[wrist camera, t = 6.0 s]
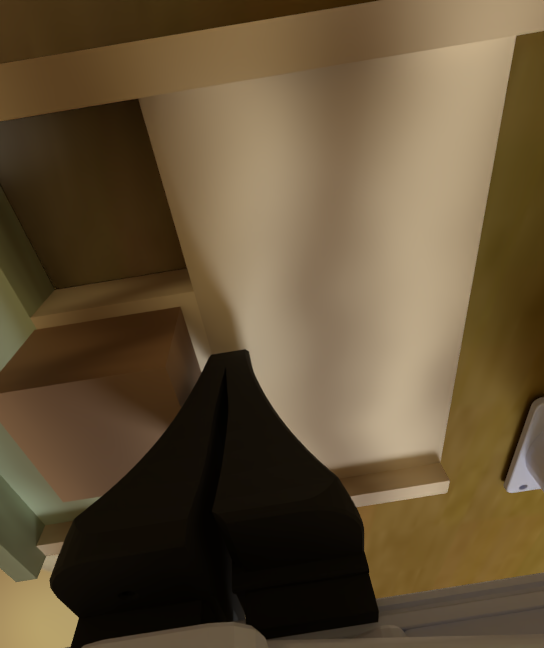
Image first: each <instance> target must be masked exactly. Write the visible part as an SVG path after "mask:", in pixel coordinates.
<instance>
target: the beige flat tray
mask: <svg viewBox="0 0 544 648" xmlns="http://www.w3.org/2000/svg"><path fill="white" fill-rule="evenodd" d="M540 31H544V0H379V1H373V2H367V3H361V4H355V5H349V6H343V7H337V8H331V9H325V10H319V11H313V12H307V13H302V14H296V15H290V16H284V17H278V18H272V19H266V20H260V21H254V22H248V23H242V24H236V25H230V26H224V27H218V28H212V29H206V30H200V31H194V32H188V33H182V34H176V35H170V36H164V37H158V38H152V39H146V40H140V41H134V42H128V43H122V44H116V45H110V46H104V47H98V48H92V49H86V50H80V51H74V52H68V53H62V54H56V55H50V56H44V57H38V58H32V59H26V60H20V61H14V62H8V63H2V64H0V122H1V121H7V120H13V119H19V118H25V117H31V116H37V115H43V114H49V113H55V112H61V111H67V110H73V109H79V108H85V107H91V106H97V105H103V104H109V103H116V102H122V101H128V100H134V99H138V100H139V103H140V107H141V110H142V114H143V117H144V121H145V124H146V128H147V131H148V134H149V138H150V141H151V145H152V148H153V152H154V155H155V159H156V162H157V166H158V169H159V173H160V176H161V180H162V183H163V186H164V190H165V193H166V197H167V200H168V204H169V207H170V211H171V214H172V218H173V221H174V225H175V228H176V231H177V235H178V238H179V242H180V245H181V249H182V252H183V256H184V259H185V263H186V266H187V269H180V270H174V271H168V272H162V273H156V274H150V275H144V276H137V277H131V278H125V279H119V280H113V281H107V282H101V283H94V284H88V285H82V286H76V287H70V288H64V289H57V290H55V289H54V288H53V286H52V284H51V282H50V280H49V278H48V276H47V274H46V272H45V270H44V268H43V266H42V265H41V263H40V261H39V259H38V257H37V255H36V253H35V251H34V249H33V247H32V245H31V243H30V242H29V240H28V238H27V236H26V234H25V232H24V230H23V228H22V226H21V224H20V222H19V220H18V219H17V217H16V215H15V213H14V211H13V209H12V207H11V205H10V203H9V201H8V199H7V197H6V196H5V194H4V192H3V190H2V188H1V186H0V372H1V370H2V369H3V368H4V367H5V365H6V364H7V363H8V362H9V361H10V359H11V358H12V357H13V356H14V354H15V353H16V352H17V351H18V350H19V348H20V347H21V346H22V345H23V343H24V342H25V341H26V340H27V339H28V337H29V336H30V335H31V334H32V332H33V331H34V330H37V329H43V328H49V327H56V326H62V325H68V324H74V323H81V322H87V321H93V320H99V319H106V318H112V317H118V316H124V315H130V314H137V313H143V312H149V311H155V310H162V309H168V308H174V307H181V310H182V313H183V316H184V319H185V322H186V325H187V329H188V332H189V335H190V338H191V341H192V344H193V348H194V351H195V354H196V357H197V360H198V363H199V366H200V370H201V373H202V371H203V369H204V367H205V365H206V362H207V360H208V358H209V357H210V355H212V354H218V353H225V352H231V351H237V350H243V349H246V350H247V351H249V354H250V359H251V363H252V368H253V371H254V374H255V376H256V378H257V380H258V382H259V384H260V386H261V388H262V390H263V392H264V393H265V395H266V397H267V399H268V400H269V402H270V403H271V405H272V407H273V408H274V410H275V411H276V412H277V414H278V415H279V417H280V418H281V419H282V421H283V422H284V423H285V424H286V426H287V427H288V428H289V429H290V431H291V432H292V433H293V434H294V435H295V436H296V437H297V439H298V440H299V441H300V442H301V443H302V444H303V445H304V446H305V447H306V448H307V449H308V450H309V451H310V452H311V453H312V454H313V455H314V456H315V457H316V458H317V459H318V460H319V461H320V462H321V463H322V464H324V465H325V466H326V467H327V468H328V469H329V470H330V471H332V472H333V473H334V474H335V475H336V476H338V478H339V479H340V481H341V482H342V484H343V486H344V487H345V489H346V490H347V492H348V494H349V495H350V497H351V499H352V500H353V502H354V504H355V506H356V507H361V506H367V505H373V504H380V503H386V502H392V501H399V500H405V499H411V498H418V497H424V496H430V495H437V494H443V493H447V492H448V487H449V482H450V480H449V478H448V476H447V475H446V473H445V471H444V469H443V467H442V465H441V463H440V461H441V455H442V449H443V444H444V438H445V432H446V427H447V421H448V416H449V410H450V404H451V399H452V393H453V388H454V382H455V376H456V371H457V365H458V359H459V354H460V348H461V343H462V337H463V331H464V326H465V320H466V315H467V309H468V303H469V298H470V292H471V287H472V281H473V275H474V270H475V264H476V258H477V253H478V247H479V242H480V236H481V230H482V225H483V219H484V214H485V208H486V202H487V197H488V191H489V185H490V180H491V174H492V169H493V163H494V157H495V152H496V146H497V141H498V135H499V129H500V124H501V118H502V112H503V107H504V101H505V96H506V90H507V84H508V79H509V73H510V68H511V62H512V56H513V51H514V45H515V40H516V36H517V35H523V34H528V33H534V32H540ZM101 497H102V496H101ZM99 498H100V497H95V498H89V499H82V500H76V501H70V502H63V501H62V500H61V499H60V498H59V496H58V495H57V494H56V493H55V491H54V490H53V489H52V487H51V486H50V485H49V484H48V482H47V481H46V480H45V479H44V477H43V476H42V475H41V474H40V472H39V471H38V470H37V468H36V467H35V466H34V465H33V463H32V462H31V461H30V460H29V458H28V457H27V456H26V455H25V453H24V452H23V451H22V449H21V448H20V447H19V446H18V444H17V443H16V442H15V441H14V439H13V438H12V437H11V436H10V434H9V433H8V432H7V430H6V429H5V428H4V427H3V425H2V424H1V423H0V568H1V569H2V570H3V571H4V572H5V573H6V574H7V575H9V576H10V577H11V578H12V579H13V580H14V581H16V582H19V581H26V580H32V579H37V577H38V575H39V573H40V570H41V568H42V565H43V563H44V560H45V558H46V556H50V555H57V554H59V553H60V550H61V548H62V545H63V543H64V540H65V537H66V535H67V533H68V531H69V529H70V527H71V525H72V522H73V520H74V518H76V517H77V516H78V515H79V514H81V513H82V512H83V511H84V510H86V509H87V508H88V507H89V506H91V505H92V504H93V503H94V502H95V501H97V500H98V499H99Z"/></svg>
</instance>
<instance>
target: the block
mask: <svg viewBox="0 0 544 648" xmlns="http://www.w3.org/2000/svg"><path fill="white" fill-rule="evenodd" d="M200 375H201V370H200V366H199V363H198V360H197V357H196V354H195V351H194V348H193V344H192V341H191V338H190V335H189V332H188V329H187V325H186V322H185V319H184V316H183V313H182V310H181V307H174V308H168V309H162V310H155V311H149V312H143V313H137V314H130V315H124V316H118V317H112V318H106V319H99V320H93V321H87V322H81V323H74V324H68V325H62V326H56V327H49V328H43V329H37V330H34V331H33V332H32V334H31V335H30V336H29V337H28V339H27V340H26V341H25V342H24V343H23V345H22V346H21V347H20V348H19V350H18V351H17V352H16V353H15V354H14V356H13V357H12V358H11V359H10V361H9V362H8V363H7V364H6V365H5V367H4V368H3V369H2V370H1V372H0V423H1V424H2V425H3V427H4V428H5V429H6V430H7V432H8V433H9V434H10V436H11V437H12V438H13V439H14V441H15V442H16V443H17V444H18V446H19V447H20V448H21V449H22V451H23V452H24V453H25V455H26V456H27V457H28V458H29V460H30V461H31V462H32V463H33V465H34V466H35V467H36V468H37V470H38V471H39V472H40V474H41V475H42V476H43V477H44V479H45V480H46V481H47V482H48V484H49V485H50V486H51V487H52V489H53V490H54V491H55V493H56V494H57V495H58V496H59V498H60V499H61V500H62V501H63V502H70V501H76V500H82V499H89V498H95V497H101V496H103V495H104V494H105V493H106V492H107V491H109V490H110V489H111V488H112V487H113V486H114V485H115V484H116V483H117V482H119V481H120V480H121V479H122V478H123V477H124V476H125V475H126V474H127V473H128V472H129V471H130V470H131V469H132V468H133V467H134V466H135V465H136V464H137V463H138V462H139V461H140V460H141V459H142V458H143V457H144V455H145V454H146V453H147V452H148V451H149V450H150V449H151V448H152V446H153V445H154V444H155V443H156V442H157V441H158V439H159V438H160V437H161V436H162V434H163V433H164V432H165V430H166V429H167V428H168V426H169V425H170V424H171V422H172V421H173V420H174V418H175V417H176V415H177V414H178V412H179V410H180V409H181V407H182V406H183V404H184V403H185V401H186V400H187V398H188V396H189V395H190V393H191V391H192V389H193V388H194V386H195V384H196V382H197V380H198V378H199V377H200Z"/></svg>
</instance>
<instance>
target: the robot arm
mask: <svg viewBox="0 0 544 648" xmlns="http://www.w3.org/2000/svg"><path fill="white" fill-rule="evenodd" d="M504 488H505V489H506V491H507V492H510V493H515V492H521V491H528V490H534V489H540V488H541V489H542V490H543V491H544V397H541V398H538V399H536V400H535V401H534V402H533V403H532V405H531V407H530V410H529V413H528V416H527V419H526V422H525V425H524V428H523V431H522V433H521V436H520V439H519V442H518V445H517V448H516V451H515V454H514V456H513V459H512V462H511V465H510V468H509V471H508V474H507V477H506V480H505V482H504ZM50 587H51V589H52V591H53V592H54V594H55V595H56V596H57V598H59V599H60V600H61V601H62V602H63V603H64V604H65V605H66V606H67V607H68V608H69V609H70V610H71V611H73V613H75V614H76V615H77V616H78V617H79V620H78V624H77V627H76V631H75V634H74V637H73V641H72V644H71V647H67V648H544V573H538V574H532V575H525V576H519V577H513V578H506V579H500V580H494V581H487V582H481V583H475V584H468V585H462V586H455V587H449V588H443V589H436V590H430V591H424V592H417V593H411V594H405V595H398V596H392V597H385V598H379V599H376V598H375V595H374V591H373V587H372V584H371V580H370V576H369V567H368V563H367V560H366V556H365V552H364V526H363V522H362V519H361V517H360V514H359V512H358V510H357V508H356V506H355V504H354V502H353V500H352V499H351V497H350V495H349V494H348V492H347V490H346V489H345V487H344V486H343V484H342V482H341V481H340V479H339V478H338V476H336V475H335V474H334V473H333V472H332V471H330V470H329V469H328V468H327V467H326V466H325V465H324V464H322V463H321V462H320V461H319V460H318V459H317V458H316V457H315V456H314V455H313V454H312V453H311V452H310V451H309V450H308V449H307V448H306V447H305V446H304V445H303V444H302V443H301V442H300V441H299V440H298V439H297V437H296V436H295V435H294V434H293V433H292V432H291V431H290V429H289V428H288V427H287V426H286V424H285V423H284V422H283V421H282V419H281V418H280V417H279V415H278V414H277V412H276V411H275V410H274V408H273V407H272V405H271V403H270V402H269V400H268V399H267V397H266V395H265V393H264V392H263V390H262V388H261V386H260V384H259V382H258V380H257V378H256V376H255V374H254V371H253V368H252V363H251V359H250V354H249V351H247V350H246V349H243V350H237V351H231V352H225V353H218V354H212V355H210V357H209V358H208V360H207V362H206V365H205V367H204V369H203V371H202V373H201V375H200V377H199V378H198V380H197V382H196V384H195V386H194V388H193V389H192V391H191V393H190V395H189V396H188V398H187V400H186V401H185V403H184V404H183V406H182V407H181V409H180V410H179V412H178V414H177V415H176V417H175V418H174V420H173V421H172V422H171V424H170V425H169V426H168V428H167V429H166V430H165V432H164V433H163V434H162V436H161V437H160V438H159V439H158V441H157V442H156V443H155V444H154V445H153V446H152V448H151V449H150V450H149V451H148V452H147V453H146V454H145V455H144V457H143V458H142V459H141V460H140V461H139V462H138V463H137V464H136V465H135V466H134V467H133V468H132V469H131V470H130V471H129V472H128V473H127V474H126V475H125V476H124V477H123V478H122V479H121V480H120V481H119V482H117V483H116V484H115V485H114V486H113V487H112V488H111V489H110V490H109V491H107V492H106V493H105V494H104V495H103V496H102V497H100V498H99V499H98V500H97V501H95V502H94V503H93V504H92V505H91V506H89V507H88V508H87V509H86V510H84V511H83V512H82V513H81V514H79V515H78V516H77V517H76V518H74V520H73V522H72V525H71V527H70V529H69V531H68V533H67V535H66V537H65V540H64V543H63V545H62V548H61V550H60V553H59V556H58V559H57V561H56V564H55V567H54V569H53V572H52V575H51V578H50ZM245 617H246V619H245Z"/></svg>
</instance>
